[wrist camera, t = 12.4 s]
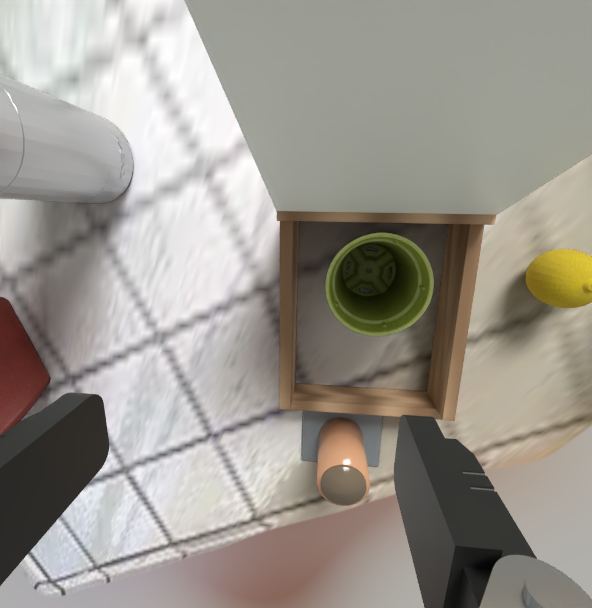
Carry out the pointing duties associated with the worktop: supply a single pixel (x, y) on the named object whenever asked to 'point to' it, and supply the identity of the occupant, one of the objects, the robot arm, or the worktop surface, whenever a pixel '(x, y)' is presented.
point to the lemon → (561, 278)
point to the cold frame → (447, 334)
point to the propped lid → (405, 98)
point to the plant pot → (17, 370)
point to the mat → (367, 423)
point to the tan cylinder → (342, 462)
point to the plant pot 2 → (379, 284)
